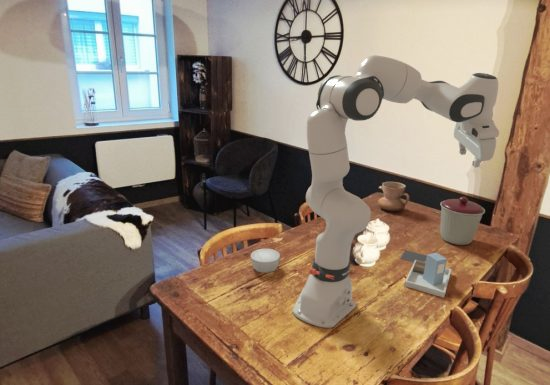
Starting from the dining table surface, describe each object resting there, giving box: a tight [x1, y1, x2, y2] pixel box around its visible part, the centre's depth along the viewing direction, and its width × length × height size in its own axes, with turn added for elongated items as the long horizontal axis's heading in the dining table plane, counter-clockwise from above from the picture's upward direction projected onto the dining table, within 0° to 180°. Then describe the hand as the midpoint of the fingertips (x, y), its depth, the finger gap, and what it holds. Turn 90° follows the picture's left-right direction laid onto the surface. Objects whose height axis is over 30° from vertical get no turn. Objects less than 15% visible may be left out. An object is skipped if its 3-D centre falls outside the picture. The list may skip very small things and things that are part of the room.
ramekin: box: [250, 248, 281, 274], centre depth 144 cm, size 11×11×5 cm
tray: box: [404, 260, 452, 298], centre depth 137 cm, size 18×13×3 cm
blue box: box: [423, 252, 448, 286], centre depth 135 cm, size 5×4×10 cm
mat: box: [399, 249, 427, 263], centre depth 153 cm, size 9×9×1 cm
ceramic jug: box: [377, 181, 410, 212], centre depth 204 cm, size 18×14×14 cm
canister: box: [439, 196, 486, 246], centre depth 168 cm, size 18×18×21 cm
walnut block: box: [413, 260, 426, 274], centre depth 143 cm, size 5×5×2 cm
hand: (468, 159), depth 130 cm, fingers open, 8 cm apart
